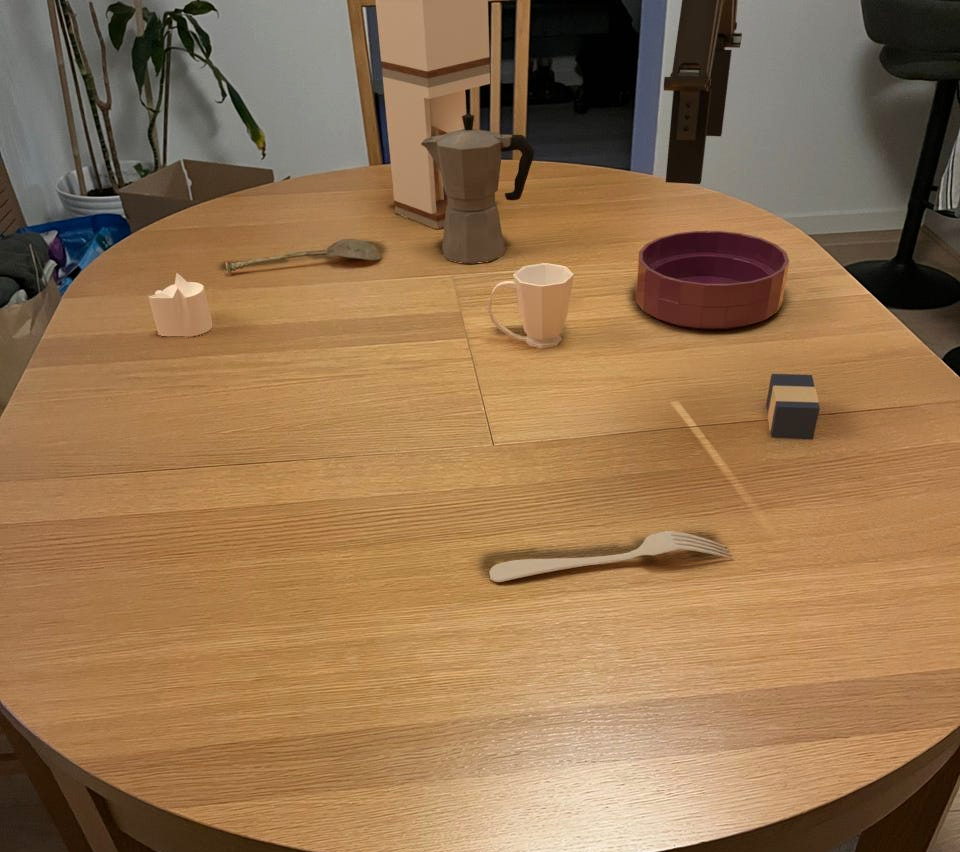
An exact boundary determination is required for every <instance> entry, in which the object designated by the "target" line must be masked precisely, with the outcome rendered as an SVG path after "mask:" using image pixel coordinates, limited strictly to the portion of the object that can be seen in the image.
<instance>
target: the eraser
mask: <svg viewBox="0 0 960 852" xmlns="http://www.w3.org/2000/svg"><path fill="white" fill-rule="evenodd" d="M765 403H766V411H767V421H768V429H769V433H770V438H771V439H793V440H814V437H815V432H816V427H817V423H818V419H819V413H820V409H821V408H820V401H819V396H818V392H817V387H816V386H815V382H814V378H813V375H812V374H798V373H797V374H794V373H792V374H791V373H771V375H770V381H769V387H768V391H767V396H766V402H765Z"/></svg>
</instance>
